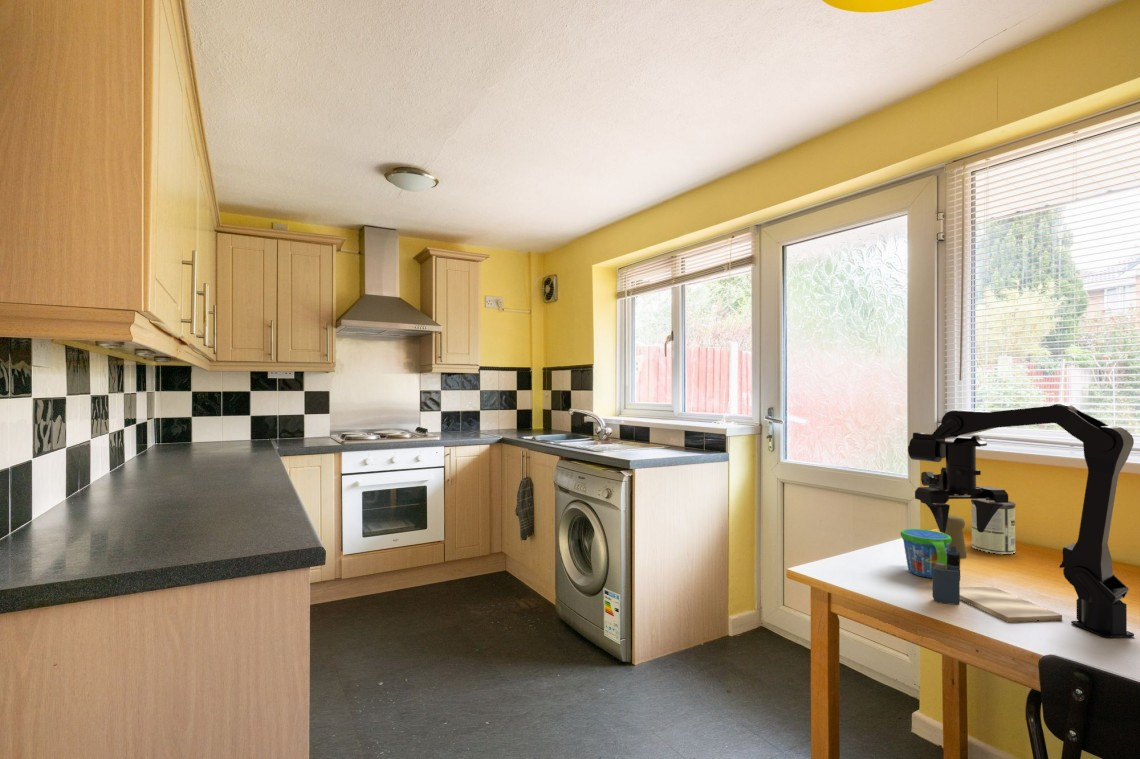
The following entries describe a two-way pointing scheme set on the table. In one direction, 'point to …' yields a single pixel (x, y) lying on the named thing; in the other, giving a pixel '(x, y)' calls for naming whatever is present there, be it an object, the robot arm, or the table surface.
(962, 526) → the cork
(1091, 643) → the table surface
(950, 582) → the vaping device
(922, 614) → the table surface
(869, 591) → the table surface
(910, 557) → the blue plastic tapered tub
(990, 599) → the birch board
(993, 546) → the coffee can
